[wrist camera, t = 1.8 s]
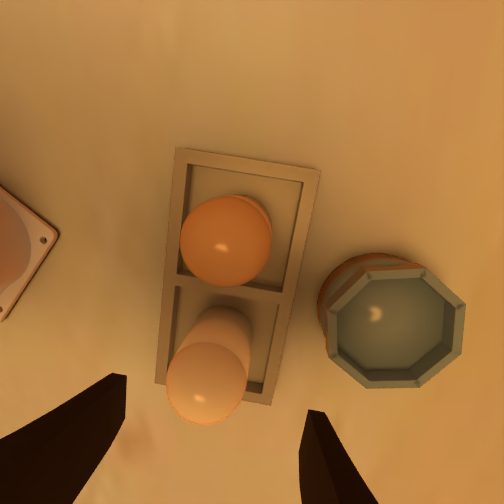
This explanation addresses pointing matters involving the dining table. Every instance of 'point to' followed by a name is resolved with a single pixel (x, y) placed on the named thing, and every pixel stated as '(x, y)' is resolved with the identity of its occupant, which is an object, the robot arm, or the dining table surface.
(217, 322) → the tan rounded cylinder
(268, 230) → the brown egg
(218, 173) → the divided tray
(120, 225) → the dining table surface
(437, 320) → the octagonal bowl
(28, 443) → the robot arm
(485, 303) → the dining table surface
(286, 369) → the dining table surface
